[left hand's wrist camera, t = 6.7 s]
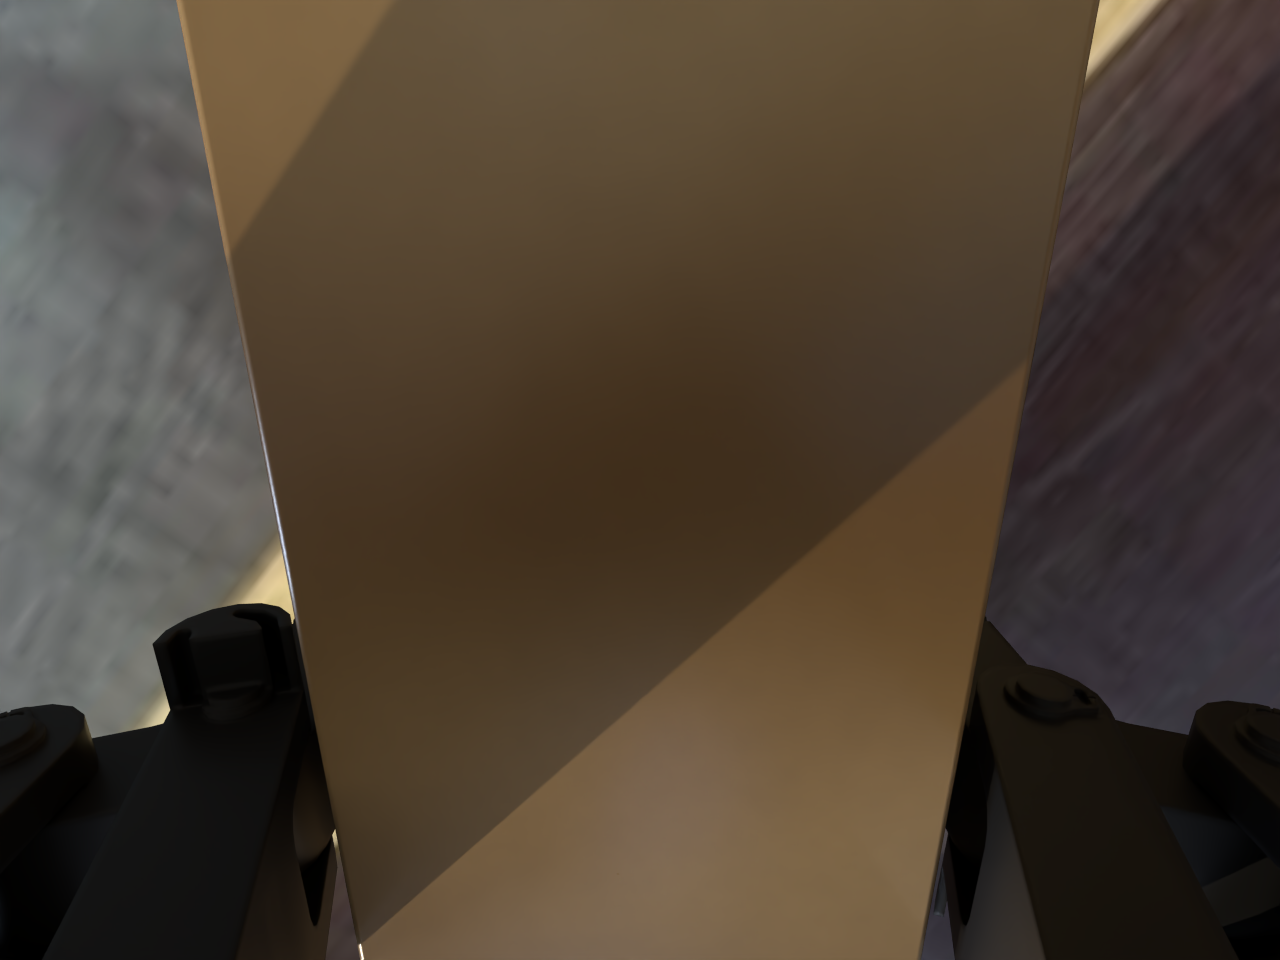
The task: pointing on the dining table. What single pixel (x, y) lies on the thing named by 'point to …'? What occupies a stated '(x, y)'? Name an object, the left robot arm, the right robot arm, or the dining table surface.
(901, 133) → the bar
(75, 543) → the dining table surface
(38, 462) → the dining table surface
